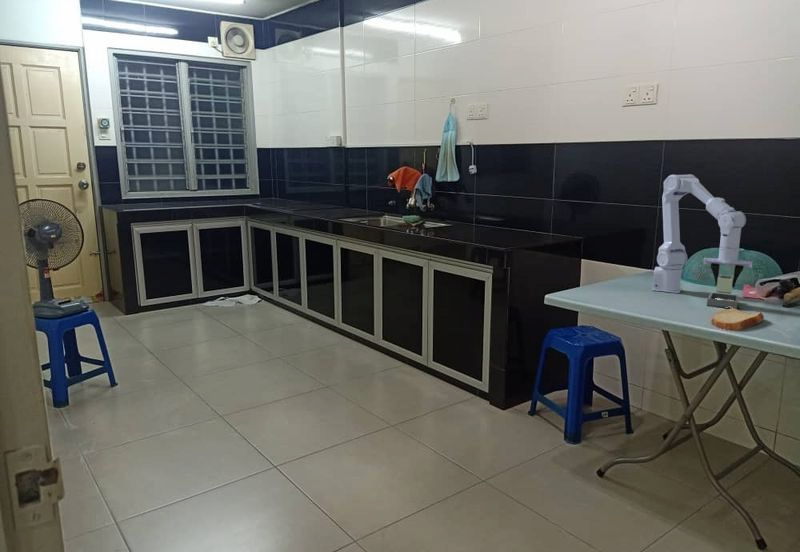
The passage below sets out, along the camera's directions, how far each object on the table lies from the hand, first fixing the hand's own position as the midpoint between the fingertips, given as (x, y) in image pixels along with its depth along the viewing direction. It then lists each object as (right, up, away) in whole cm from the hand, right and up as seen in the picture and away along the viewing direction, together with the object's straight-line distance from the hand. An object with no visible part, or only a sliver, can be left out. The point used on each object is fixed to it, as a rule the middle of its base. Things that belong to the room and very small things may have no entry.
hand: (724, 286), depth 193 cm
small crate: (0, -2, 0) cm, 2 cm away
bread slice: (-8, -11, -21) cm, 25 cm away
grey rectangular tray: (0, -6, +1) cm, 6 cm away
